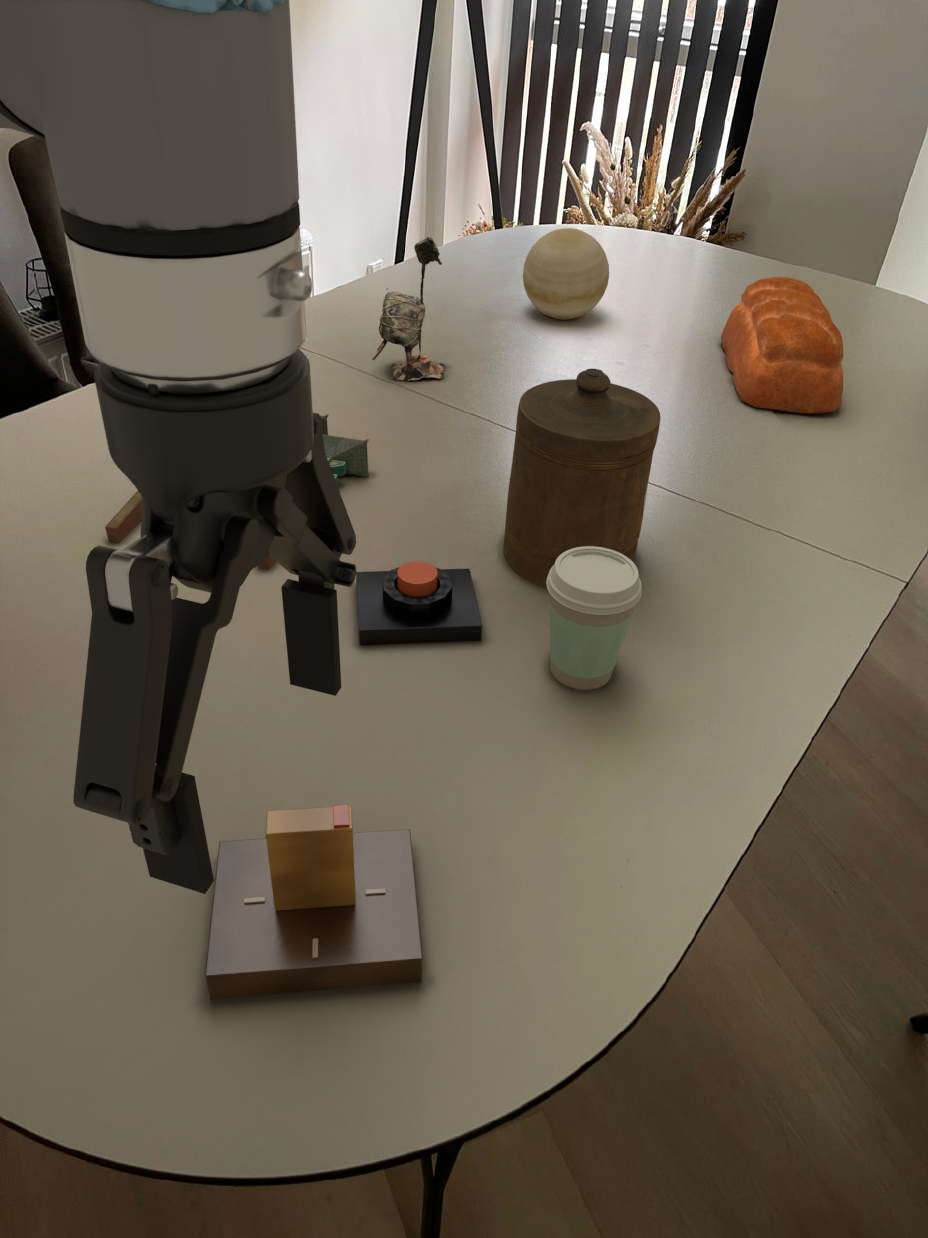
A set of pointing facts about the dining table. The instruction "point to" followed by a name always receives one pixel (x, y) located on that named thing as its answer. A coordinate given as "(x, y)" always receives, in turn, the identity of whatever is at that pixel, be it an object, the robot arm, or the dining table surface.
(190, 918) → the dining table surface
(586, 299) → the decorative ball
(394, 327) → the bird figurine
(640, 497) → the wooden container
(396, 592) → the button block
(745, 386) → the bread
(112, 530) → the miniature gate
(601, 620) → the coffee cup
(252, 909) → the plate
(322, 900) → the lock knob
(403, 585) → the bell button
